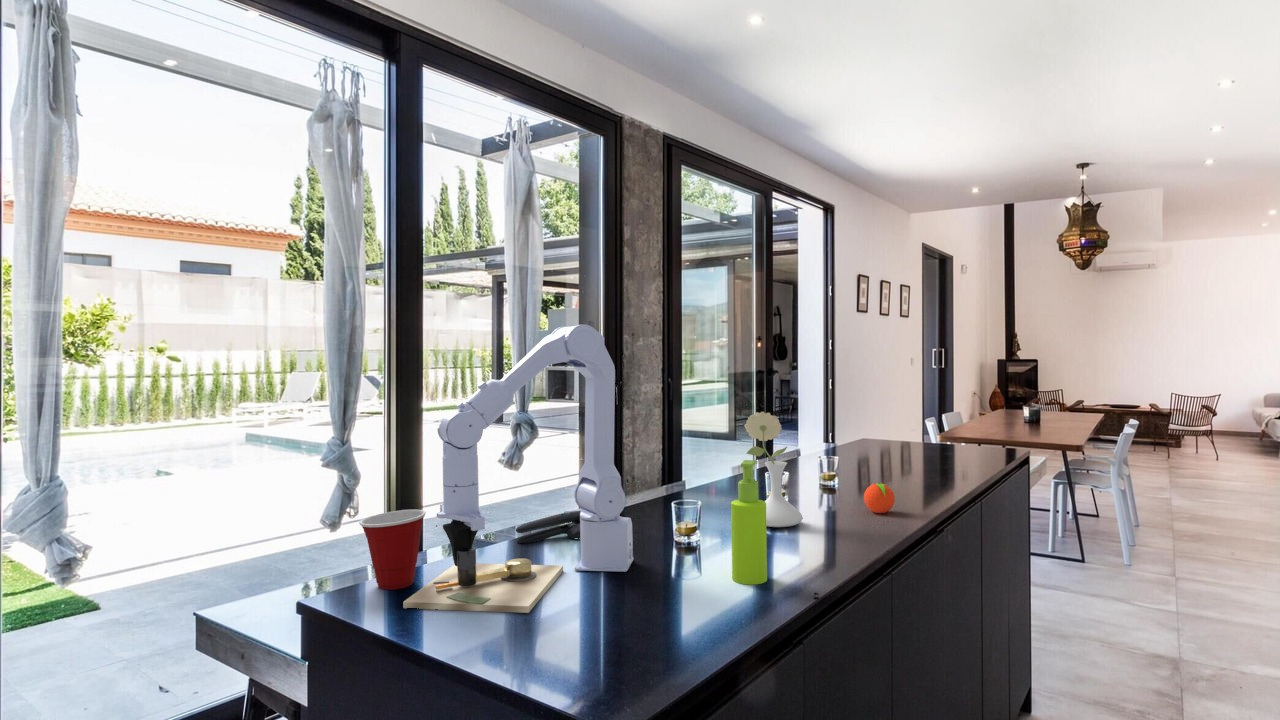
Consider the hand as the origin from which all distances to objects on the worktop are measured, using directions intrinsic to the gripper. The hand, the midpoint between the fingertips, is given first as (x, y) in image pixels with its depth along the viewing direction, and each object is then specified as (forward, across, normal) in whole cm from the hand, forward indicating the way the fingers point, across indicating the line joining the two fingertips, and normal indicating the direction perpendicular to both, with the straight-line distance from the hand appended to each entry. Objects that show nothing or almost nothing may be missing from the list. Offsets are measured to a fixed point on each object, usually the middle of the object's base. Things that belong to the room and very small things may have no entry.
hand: (462, 565), depth 124 cm
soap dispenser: (+4, +25, +41) cm, 49 cm away
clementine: (+4, +8, +99) cm, 99 cm away
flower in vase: (+4, +1, +72) cm, 72 cm away
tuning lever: (+2, +2, +3) cm, 4 cm away
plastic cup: (+4, -10, -8) cm, 13 cm away
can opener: (+4, -20, +29) cm, 35 cm away
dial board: (+4, +2, +4) cm, 6 cm away
